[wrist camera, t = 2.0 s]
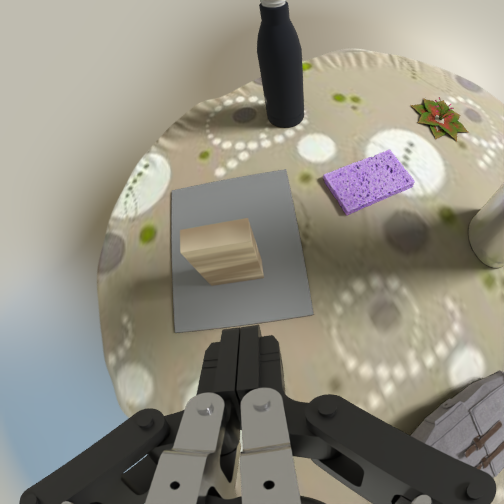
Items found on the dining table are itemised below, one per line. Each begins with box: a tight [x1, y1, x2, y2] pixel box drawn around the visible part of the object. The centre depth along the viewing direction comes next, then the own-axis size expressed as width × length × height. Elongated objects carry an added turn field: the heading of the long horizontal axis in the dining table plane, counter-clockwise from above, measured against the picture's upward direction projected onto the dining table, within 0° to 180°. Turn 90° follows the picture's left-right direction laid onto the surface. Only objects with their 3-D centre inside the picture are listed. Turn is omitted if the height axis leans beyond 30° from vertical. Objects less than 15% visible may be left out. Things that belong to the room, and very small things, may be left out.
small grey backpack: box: [411, 371, 504, 477], centre depth 26 cm, size 15×8×20 cm
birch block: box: [180, 218, 264, 286], centre depth 36 cm, size 3×7×12 cm, turn 97°
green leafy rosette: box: [411, 97, 469, 141], centre depth 46 cm, size 12×12×5 cm
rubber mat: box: [172, 169, 314, 333], centre depth 44 cm, size 22×18×1 cm
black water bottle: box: [257, 0, 304, 128], centre depth 38 cm, size 6×6×30 cm
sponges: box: [323, 150, 415, 215], centre depth 44 cm, size 7×13×2 cm, turn 112°
